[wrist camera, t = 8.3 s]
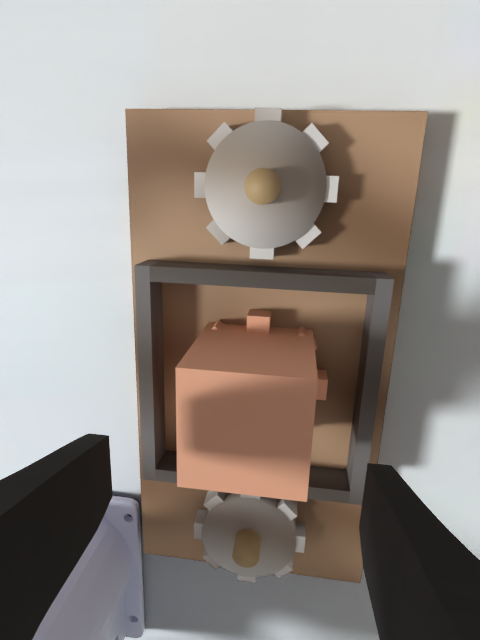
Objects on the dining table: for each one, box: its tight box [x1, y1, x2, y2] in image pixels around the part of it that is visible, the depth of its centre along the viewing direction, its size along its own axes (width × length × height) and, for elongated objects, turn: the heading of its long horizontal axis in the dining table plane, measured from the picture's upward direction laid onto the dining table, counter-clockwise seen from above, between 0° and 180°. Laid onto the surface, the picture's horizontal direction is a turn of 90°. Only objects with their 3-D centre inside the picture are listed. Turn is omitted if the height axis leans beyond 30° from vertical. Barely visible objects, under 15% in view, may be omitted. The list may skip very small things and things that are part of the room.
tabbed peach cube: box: [175, 309, 328, 502], centre depth 16 cm, size 6×6×5 cm
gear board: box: [125, 108, 428, 583], centre depth 18 cm, size 21×11×3 cm, turn 178°
